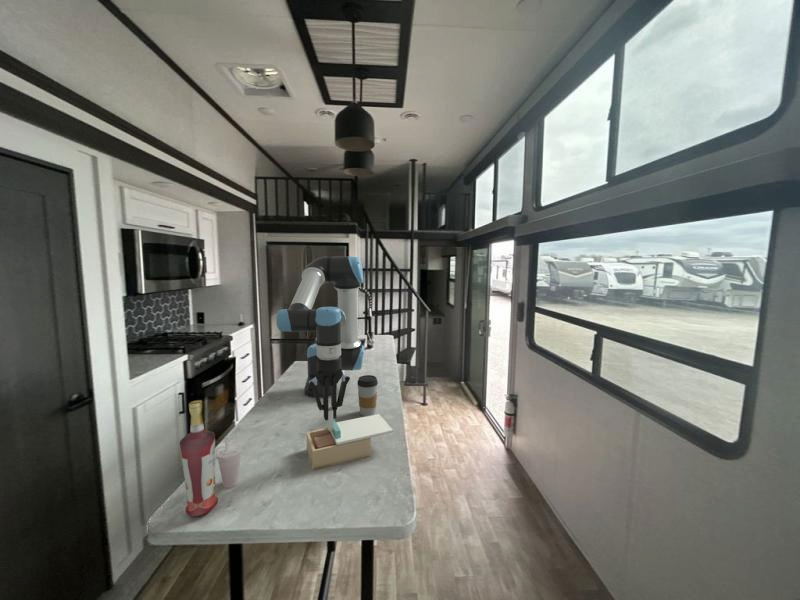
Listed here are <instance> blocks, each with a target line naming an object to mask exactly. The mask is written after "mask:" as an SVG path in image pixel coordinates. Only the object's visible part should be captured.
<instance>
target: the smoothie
mask: <svg viewBox="0 0 800 600" xmlns="http://www.w3.org/2000/svg"><path fill="white" fill-rule="evenodd" d="M228 437H229V436H228V435H225V436H224V441H225V446H224V447H222V448H220V449H219V450H218V451H217V452H215V460H217V461H218V466H219V471H220V472H219V473H220V475H221V480H222V484H223V485H222V486H223V487H224V488H225V489H231V488H234V487H236V486H237V485H238V484H239V478H240V476H239V475H240V467H241V457H242V456H241V455H242V453H243V448H242V446H241V445H238V444H230V445H229V441H228V439H229V438H228Z"/></svg>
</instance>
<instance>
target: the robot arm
mask: <svg viewBox="0 0 800 600" xmlns="http://www.w3.org/2000/svg"><path fill="white" fill-rule="evenodd" d="M327 283H328V284H333V288H334V289H335V290H336V291H337V306H322V307H318V308H317V309H313V308H314V304H315V302H316V298H317V296H318V294H319V290H320V288H321V287H322V286H323V285H324V284H327ZM363 283H364V271H363V265H362V261H361V259H360V257H357V256H351V255H349V256H348V255H346V256H340V255H339V256H337V255H336V256H333V255H332V256H320V257H318V258H316V259H314V260H313V261H311V262H310V263H308V264H307V265H306V266H305V267H304V269H303V270H302V273H301V281H300V283H299V286H298V287H297V289H296V292H295V295H294V296H293V298H292V301H291V303H290V305H289V307H288V308H284V309H279V310H278V311H277V314H276V319H275V320H276V322H275V323H276V326H277V329H278V331H280V332H289V333H295V332H298V333H299V332H300V333H301V332H302V333H304V332H305V333H306V332H308V333H309V332H311V333H312V332H313V333H314V332H315V334H316V336H315V337H316V338H315V340H316V343H313V344H311V345H309V347H307V353H306V361H307V378H306V382H305V385H304V390H303V391H304V395H306V396H307V397H310V398H315V402H316V406H317V408H318V410H319V411H323V419H324V421H326V428H328V430H329V431H331V430H334V429H333V420H334V419H335V420H336V419H337V410H338V408H339V407H340V408H341V407H342V406H343V402H344V398H345V394H346V390H347V385H348V383H349V381H350V380H351V377H350V376H349V375H348V374H345V373H344V372H343V371H352V372H353V371H360V370H362V366H363V362H364V354H365V345H363V344H362V341H361V340H360V339H359V331H358V329H359V325H358V323H359V322H358V320H359V319H358V290H359V288H361V284H363ZM340 380H341V382H340ZM339 382H340V386H339V390H338V389H337V388H338V386H337V384H338V383H339ZM337 390H338V395H337ZM329 397H330V405H329ZM321 398H322V400H321Z"/></svg>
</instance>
